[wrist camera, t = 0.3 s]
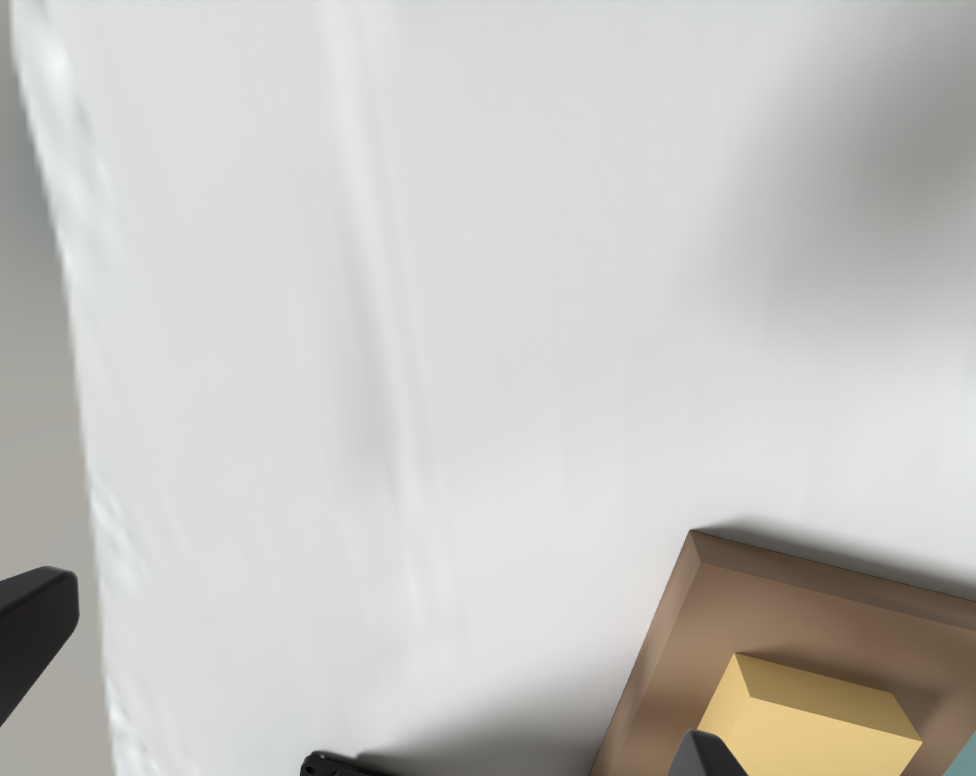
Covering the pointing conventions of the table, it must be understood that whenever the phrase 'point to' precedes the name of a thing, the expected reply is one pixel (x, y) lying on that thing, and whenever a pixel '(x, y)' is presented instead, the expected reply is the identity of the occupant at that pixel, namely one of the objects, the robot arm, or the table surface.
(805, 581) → the brown slab
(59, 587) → the robot arm
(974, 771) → the mat
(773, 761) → the tile
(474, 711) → the table surface
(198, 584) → the table surface
